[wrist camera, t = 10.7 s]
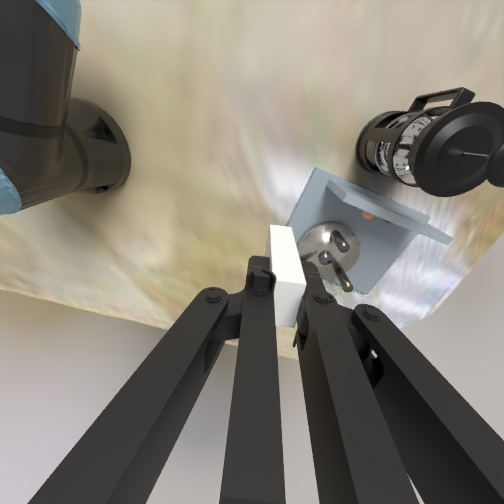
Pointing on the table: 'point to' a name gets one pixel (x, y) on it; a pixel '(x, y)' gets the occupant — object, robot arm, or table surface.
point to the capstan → (331, 250)
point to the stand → (361, 224)
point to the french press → (439, 144)
